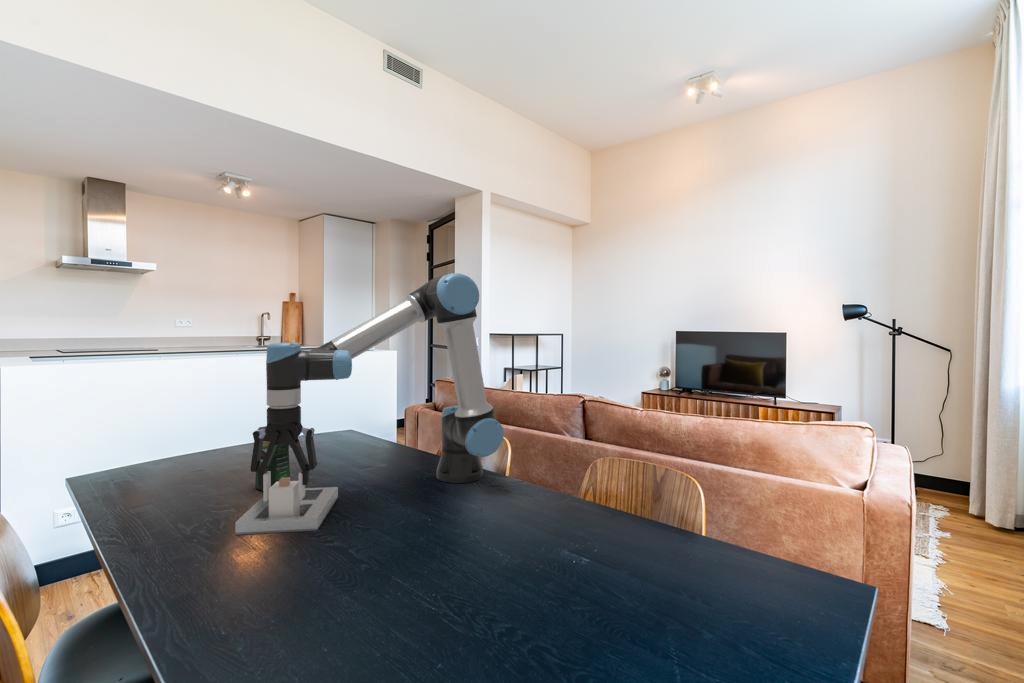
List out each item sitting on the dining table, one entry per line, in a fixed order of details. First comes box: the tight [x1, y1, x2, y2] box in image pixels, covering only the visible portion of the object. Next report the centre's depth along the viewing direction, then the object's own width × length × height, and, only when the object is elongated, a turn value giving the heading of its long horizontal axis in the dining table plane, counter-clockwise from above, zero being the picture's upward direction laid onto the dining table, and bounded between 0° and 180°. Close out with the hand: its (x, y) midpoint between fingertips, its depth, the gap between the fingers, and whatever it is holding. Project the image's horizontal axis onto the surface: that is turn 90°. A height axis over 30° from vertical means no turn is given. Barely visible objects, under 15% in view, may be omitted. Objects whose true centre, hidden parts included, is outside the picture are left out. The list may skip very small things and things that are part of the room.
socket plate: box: [235, 486, 339, 536], centre depth 120 cm, size 18×22×3 cm
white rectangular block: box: [269, 476, 300, 518], centre depth 114 cm, size 6×6×10 cm
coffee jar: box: [254, 425, 291, 491], centre depth 140 cm, size 10×8×19 cm
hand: (284, 498), depth 114 cm, fingers open, 7 cm apart
